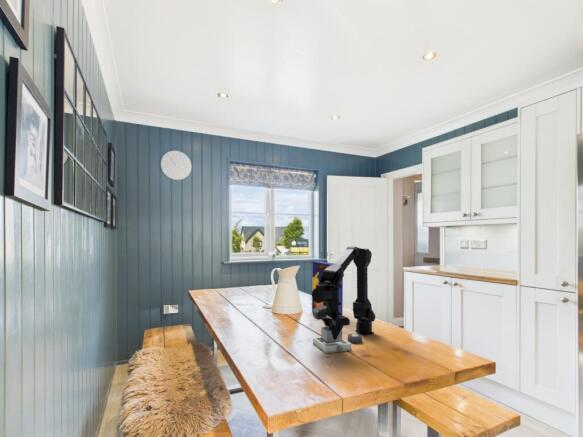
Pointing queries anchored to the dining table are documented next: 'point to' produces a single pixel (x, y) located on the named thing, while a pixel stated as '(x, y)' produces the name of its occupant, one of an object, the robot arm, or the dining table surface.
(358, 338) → the spare wheel
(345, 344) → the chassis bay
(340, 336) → the grey stepped block
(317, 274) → the cereal box
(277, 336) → the dining table surface
